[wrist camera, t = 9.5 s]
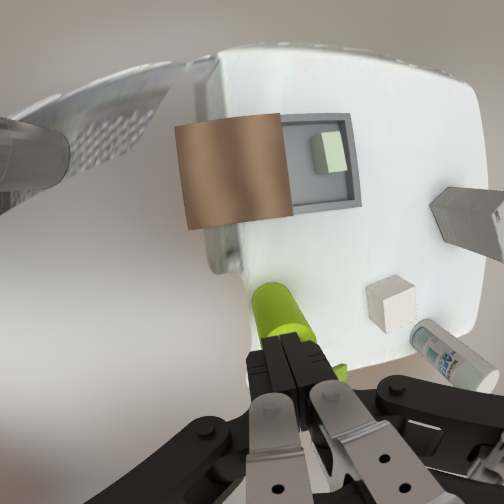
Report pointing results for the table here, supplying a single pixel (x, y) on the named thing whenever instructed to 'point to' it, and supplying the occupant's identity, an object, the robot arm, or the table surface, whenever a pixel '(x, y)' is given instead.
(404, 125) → the table surface
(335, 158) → the tile
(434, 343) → the spray can
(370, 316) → the white cube
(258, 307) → the soap dispenser
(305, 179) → the box
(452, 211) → the skincare box
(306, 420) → the robot arm
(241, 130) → the brown flat square block
